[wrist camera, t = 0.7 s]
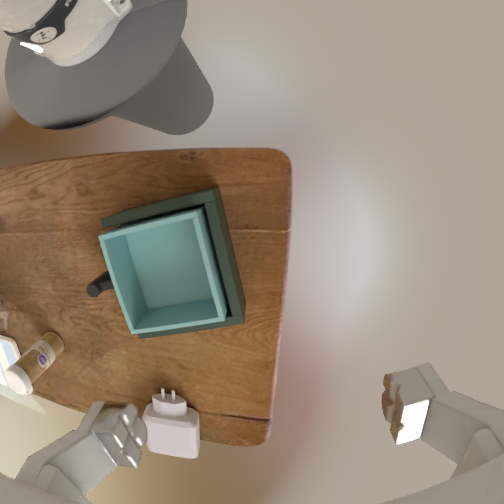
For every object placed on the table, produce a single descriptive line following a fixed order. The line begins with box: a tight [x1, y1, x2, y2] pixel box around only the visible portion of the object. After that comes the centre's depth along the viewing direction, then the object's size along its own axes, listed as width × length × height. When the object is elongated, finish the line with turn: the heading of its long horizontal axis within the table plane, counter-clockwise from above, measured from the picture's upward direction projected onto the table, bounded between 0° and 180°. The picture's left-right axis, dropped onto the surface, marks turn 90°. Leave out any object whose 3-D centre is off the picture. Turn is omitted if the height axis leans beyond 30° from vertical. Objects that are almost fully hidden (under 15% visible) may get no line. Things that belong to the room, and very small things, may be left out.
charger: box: [142, 388, 200, 458], centre depth 47 cm, size 5×9×15 cm
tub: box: [87, 204, 229, 334], centre depth 37 cm, size 13×16×7 cm
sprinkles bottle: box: [4, 332, 64, 395], centre depth 39 cm, size 5×5×14 cm
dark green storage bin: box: [101, 187, 246, 339], centre depth 39 cm, size 16×14×6 cm
